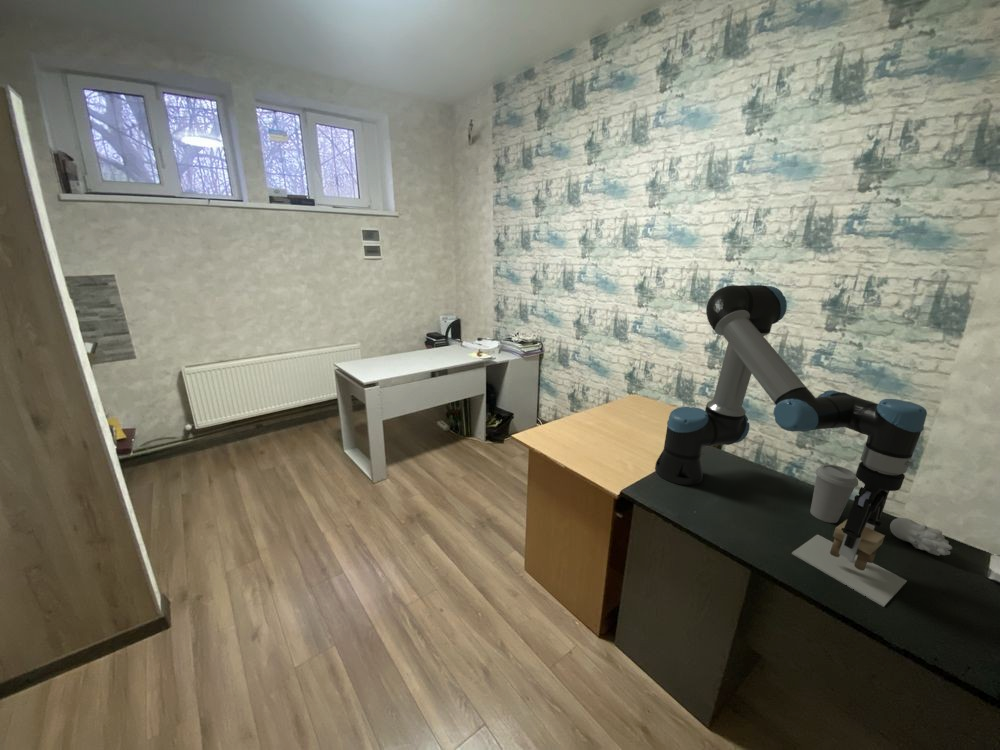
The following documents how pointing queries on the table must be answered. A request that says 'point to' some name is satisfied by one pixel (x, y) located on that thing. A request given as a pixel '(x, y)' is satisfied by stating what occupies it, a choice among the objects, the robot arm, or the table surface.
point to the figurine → (920, 536)
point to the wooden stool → (866, 546)
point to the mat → (851, 571)
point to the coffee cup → (832, 492)
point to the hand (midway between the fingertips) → (852, 551)
